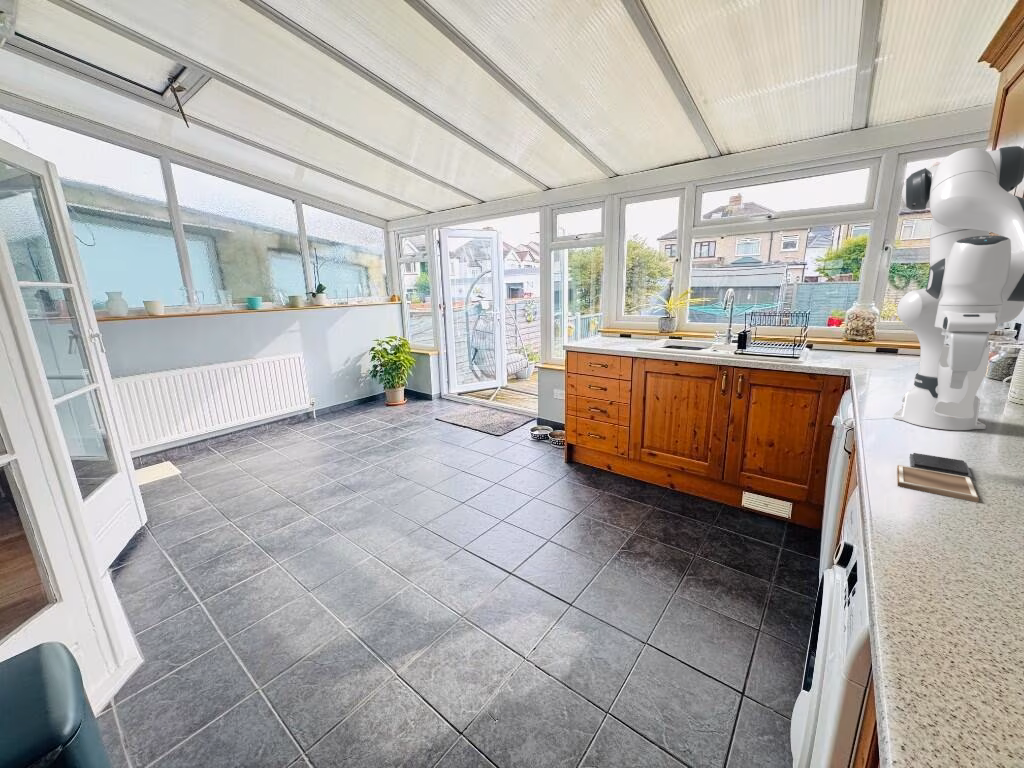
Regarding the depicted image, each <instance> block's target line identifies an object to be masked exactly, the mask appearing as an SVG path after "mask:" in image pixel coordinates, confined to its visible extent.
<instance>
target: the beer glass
mask: <svg viewBox="0 0 1024 768" xmlns="http://www.w3.org/2000/svg"><path fill="white" fill-rule="evenodd" d="M949 348H950V345H948V343H945V344H943V348H942V351H941V354H940V358H939V362H938V369H937V378H938V398H937V401H936V403H935V406H934V408H933V410H932V412H933V413H935V414H937V415H941V416H945V417H951V418H963V419H966V418H972V417H973V416H974V411H973V403H974V398H975V395H976V396H977V394H978V390H979V389H980V387H981V384H982V382H983V381H984V378H985V376H986V373H987V370H988V365H989V361H990V360H989V359H990V358H989V357H990V349H991V346H990V345H988V344H987V346H986V349H985V352H984V354H983V357H982V360H981V363H980V365H979V367H978V369H977V370H976V371H968V372H967V375H966V377H965V380H964V382H963V387H962V388H961V389H952V388H950V386H949V383H950V379H951V373H952V372H951V371H952V370H951V369H950V367H949V365H948V364H947V358H948V353H949Z"/></svg>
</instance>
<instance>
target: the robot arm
mask: <svg viewBox="0 0 1024 768" xmlns="http://www.w3.org/2000/svg"><path fill="white" fill-rule="evenodd" d="M1023 180H1024V148H1023V147H1021V146H1020V145H1014V146H1013V145H1011V146H1006V147H1003V146H1002V147H1000V148H999V149H995V150H989V151H988V150H986V149H983V148H980V147H969V148H964V149H960V150H958V151H957V150H956V151H955V152H953V153H951V154H950V155H948V156H946V157H945V158H944V159H942V160H941V162H939V164H937V165H933V166H931V167H929V168H926V167H924V168H922V169H920V170H917V171H915V172H913V173H911V174H910V175H909V176H908V177H907V178H906V181H905V182H904V184H903V187H902V189H901V198H902V201H903V204H904V205H905V206H906V208H907V209H909V210H911V211H920V210H921V211H922V210H926V209H927V208H928V209H929V211H930V214H931V216H932V221H931V225H930V232H929V233H930V234H929V270H928V280H927V285H926V287H925V288H919V289H914V290H911V291H908V292H906V294H904V295H903V296H902V297H901V298H900V300H899V302H898V304H897V308H896V314H897V316H898V318H899V320H900V321H901V322H902V323H903V324H904V325H906V326H907V327H909V328H910V329H911V330H912V331H913V333H914V334H915V335H916V337H917V339H918V342H919V346H920V347H919V348H920V352H919V354H920V355H919V366H918V371H917V373H916V374H915V375H914V376H915V377H914V379H913V380H914V381H913V388H912V389H910V390H908V391H907V392H906V393H905V394H904V395H903V396H902V399H901V401H902V403H903V404H902V405H901V408H900V409H899V410H897V411H896V412H895V413H894V414H893V416H892V418H893V419H895V420H899V421H903V422H906V423H909V424H911V425H912V424H913V425H916V426H921V427H927V428H930V429H931V428H932V429H938V430H939V429H940V430H946V431H948V430H950V431H971V430H986V427H987V426H986V424H984V423H982V422H981V421H979V420H978V419H979V414H980V413H979V412H980V406H981V405H980V404H981V399H980V398H979V397H978V396H977V394H976V395H975V398H974V403H973V411H974V416H973V417H972V418H966V419H963V418H951V417H945V416H941V415H937V414H935V413H933V412H932V410H933V408H934V406H935V403H936V401H937V398H938V378H937V369H938V362H939V358H940V354H941V351H942V348H943V344H945V343H948V345H950V348H949V353H948V358H947V364H948V365H949V367H950V369H951V370H952V371H951V372H952V373H951V379H950V383H949V386H950V388H952V389H961V388H962V387H963V382H964V380H965V377H966V375H967V372H968V371H976V370H977V369H978V367H979V365H980V363H981V360H982V357H983V354H984V352H985V349H986V346H987V345H988V342H989V338H990V333H995V332H996V329H998V328H999V324H1003V323H1008V322H1011V321H1014V320H1015V319H1016V318H1017V317H1018V316H1019V315H1020V314H1021V313H1022V312H1023V310H1024V198H1023V197H1020V196H1018V195H1014V194H1012V193H1010V192H1011V191H1013V190H1014V189H1015V188H1017V187H1018V186H1019V185H1020V184H1021V183H1022V182H1023ZM990 233H992V234H993V233H994V234H996V235H990Z"/></svg>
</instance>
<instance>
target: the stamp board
mask: <svg viewBox="0 0 1024 768" xmlns="http://www.w3.org/2000/svg"><path fill="white" fill-rule="evenodd" d="M896 469H897V471H896V475H897V480H896V481H897V487H898V486H900V487H899V488H903V487H904V489H908V488H910V489H909V490H914V491H919V490H920V491H919V492H924V491H925V492H924V493H929V492H930V494H933V495H939V496H944V497H948V498H954V499H959V498H960V499H959V500H964V499H966V500H965V501H969V500H970V501H969V502H974V503H979V499H980V498H979V495H978V492H977V490H976V487H975V486H974V483H973V480H972V479H971V478H970V477H966V476H960V475H954V474H948V473H943V472H937V471H931V470H925V469H920V468H914V467H910V466H907V465H902V464H898V465H897V467H896Z"/></svg>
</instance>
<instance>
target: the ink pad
mask: <svg viewBox="0 0 1024 768" xmlns="http://www.w3.org/2000/svg"><path fill="white" fill-rule="evenodd" d="M909 467H914V468H920V469H925V470H931V471H937V472H943V473H948V474H954V475H960V476H966V477H970V478H971V480H972V479H973V475H972V473H971V471H970V468H969V466H968V463H967V462H966V461H965V460H961V459H956V458H949V457H943V456H936V455H930V454H924V453H916V452H912V453H910V454H909Z"/></svg>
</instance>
